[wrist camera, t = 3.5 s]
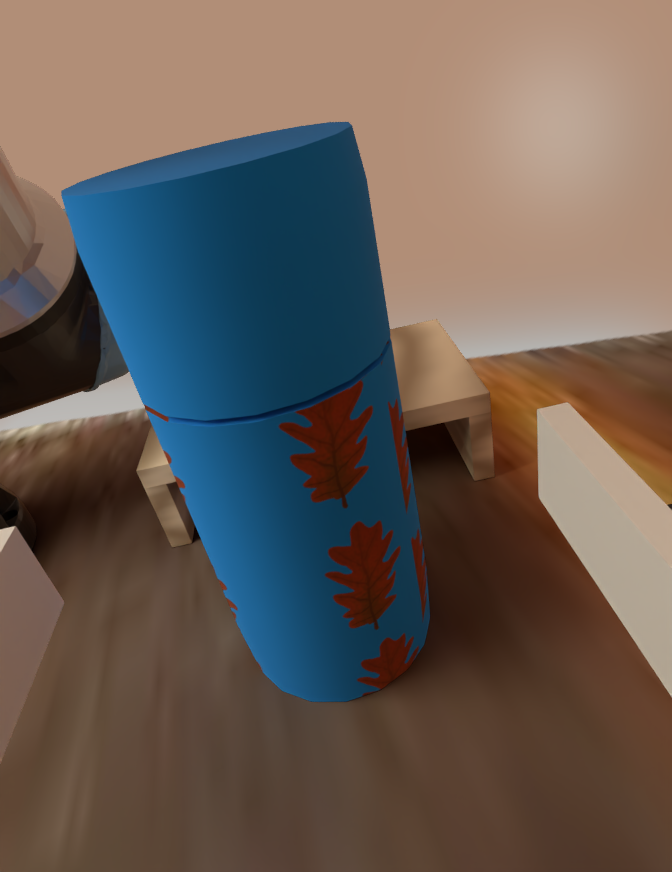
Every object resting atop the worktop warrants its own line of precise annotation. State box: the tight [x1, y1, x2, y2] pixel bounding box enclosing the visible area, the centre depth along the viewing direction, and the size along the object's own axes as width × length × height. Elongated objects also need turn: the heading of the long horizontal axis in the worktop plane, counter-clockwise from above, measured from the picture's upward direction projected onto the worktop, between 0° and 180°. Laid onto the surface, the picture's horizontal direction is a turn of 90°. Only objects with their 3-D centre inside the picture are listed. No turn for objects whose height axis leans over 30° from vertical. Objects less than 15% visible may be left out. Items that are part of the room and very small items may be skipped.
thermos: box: [62, 122, 430, 702], centre depth 27 cm, size 11×11×25 cm
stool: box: [136, 319, 495, 547], centre depth 46 cm, size 24×14×7 cm, turn 96°
